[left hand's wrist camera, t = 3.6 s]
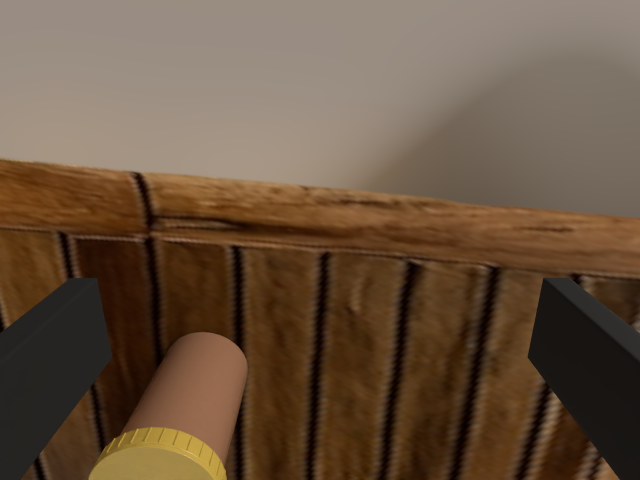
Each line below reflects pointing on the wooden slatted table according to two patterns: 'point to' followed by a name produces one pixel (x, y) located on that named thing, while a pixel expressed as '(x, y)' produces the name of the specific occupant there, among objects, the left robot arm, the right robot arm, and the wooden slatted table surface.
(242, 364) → the jar
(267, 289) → the wooden slatted table surface
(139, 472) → the lid
